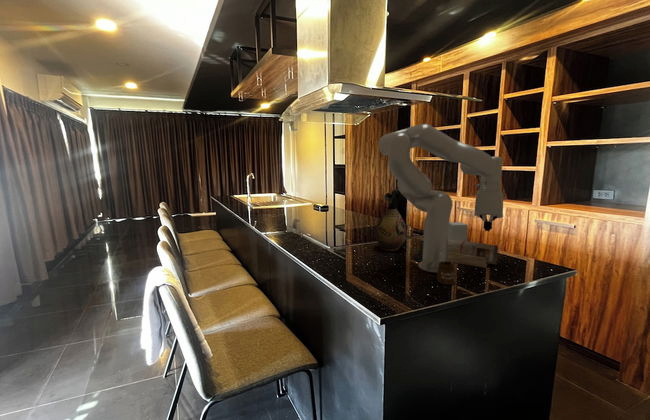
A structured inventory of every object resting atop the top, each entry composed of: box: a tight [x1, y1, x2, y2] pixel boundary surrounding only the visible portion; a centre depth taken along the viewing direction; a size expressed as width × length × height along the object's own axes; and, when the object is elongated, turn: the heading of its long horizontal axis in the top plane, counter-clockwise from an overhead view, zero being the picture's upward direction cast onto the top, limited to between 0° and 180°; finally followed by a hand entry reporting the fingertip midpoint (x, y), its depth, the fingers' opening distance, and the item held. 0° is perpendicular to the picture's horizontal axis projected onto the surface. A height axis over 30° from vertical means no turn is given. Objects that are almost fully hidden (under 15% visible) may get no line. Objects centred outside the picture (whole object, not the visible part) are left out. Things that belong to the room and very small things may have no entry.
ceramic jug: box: [374, 188, 408, 252], centre depth 157 cm, size 17×15×30 cm
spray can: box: [448, 240, 499, 265], centre depth 136 cm, size 8×8×20 cm
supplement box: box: [448, 221, 469, 241], centre depth 157 cm, size 7×7×13 cm
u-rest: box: [447, 252, 489, 269], centre depth 140 cm, size 13×22×4 cm, turn 54°
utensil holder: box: [436, 249, 457, 286], centre depth 113 cm, size 6×6×12 cm
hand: (487, 230), depth 132 cm, fingers closed
